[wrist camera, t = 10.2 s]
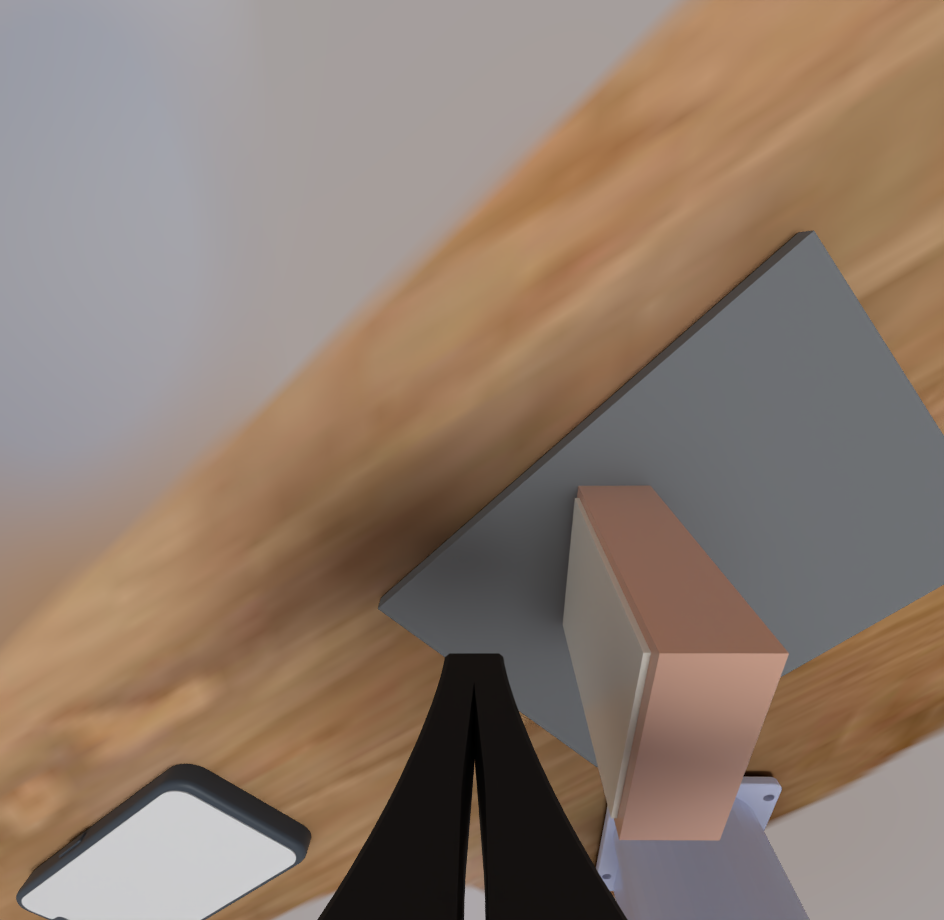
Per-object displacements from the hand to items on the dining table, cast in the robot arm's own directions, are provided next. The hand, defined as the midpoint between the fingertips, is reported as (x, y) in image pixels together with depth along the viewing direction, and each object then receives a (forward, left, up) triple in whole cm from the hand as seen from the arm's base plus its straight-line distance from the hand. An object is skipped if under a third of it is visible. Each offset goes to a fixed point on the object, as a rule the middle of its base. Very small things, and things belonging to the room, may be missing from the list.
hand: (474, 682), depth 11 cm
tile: (0, -5, -5) cm, 7 cm away
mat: (-1, -8, -6) cm, 10 cm away
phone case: (-20, +17, -6) cm, 28 cm away
